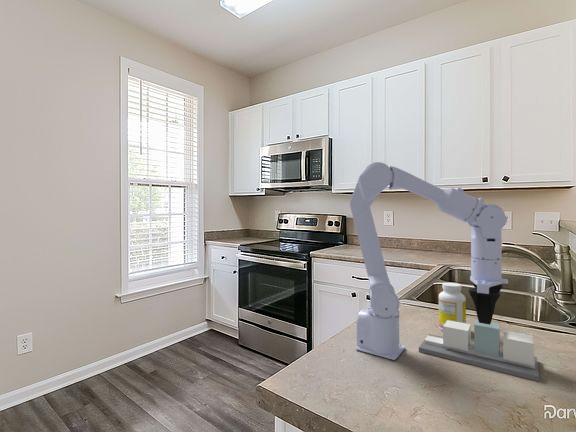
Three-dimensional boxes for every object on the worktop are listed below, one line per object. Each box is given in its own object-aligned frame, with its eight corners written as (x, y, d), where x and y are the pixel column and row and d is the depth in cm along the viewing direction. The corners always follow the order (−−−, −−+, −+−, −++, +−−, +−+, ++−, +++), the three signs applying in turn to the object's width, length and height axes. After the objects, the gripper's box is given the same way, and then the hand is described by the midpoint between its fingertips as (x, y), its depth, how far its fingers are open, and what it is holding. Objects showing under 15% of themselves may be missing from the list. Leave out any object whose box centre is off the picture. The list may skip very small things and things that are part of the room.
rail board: (418, 351, 73) (418, 325, 73) (428, 337, 81) (428, 313, 81) (539, 381, 60) (539, 349, 60) (536, 361, 68) (536, 332, 68)
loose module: (474, 351, 69) (474, 324, 69) (476, 345, 72) (476, 319, 72) (498, 357, 66) (498, 329, 66) (500, 350, 69) (500, 323, 69)
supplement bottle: (457, 325, 89) (456, 281, 89) (471, 335, 83) (471, 286, 82) (434, 326, 89) (434, 281, 89) (446, 335, 82) (446, 287, 82)
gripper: (506, 264, 61) (506, 333, 61) (509, 255, 72) (509, 313, 72) (465, 261, 65) (465, 325, 65) (473, 253, 77) (474, 308, 77)
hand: (486, 319), depth 69 cm, fingers open, 6 cm apart
